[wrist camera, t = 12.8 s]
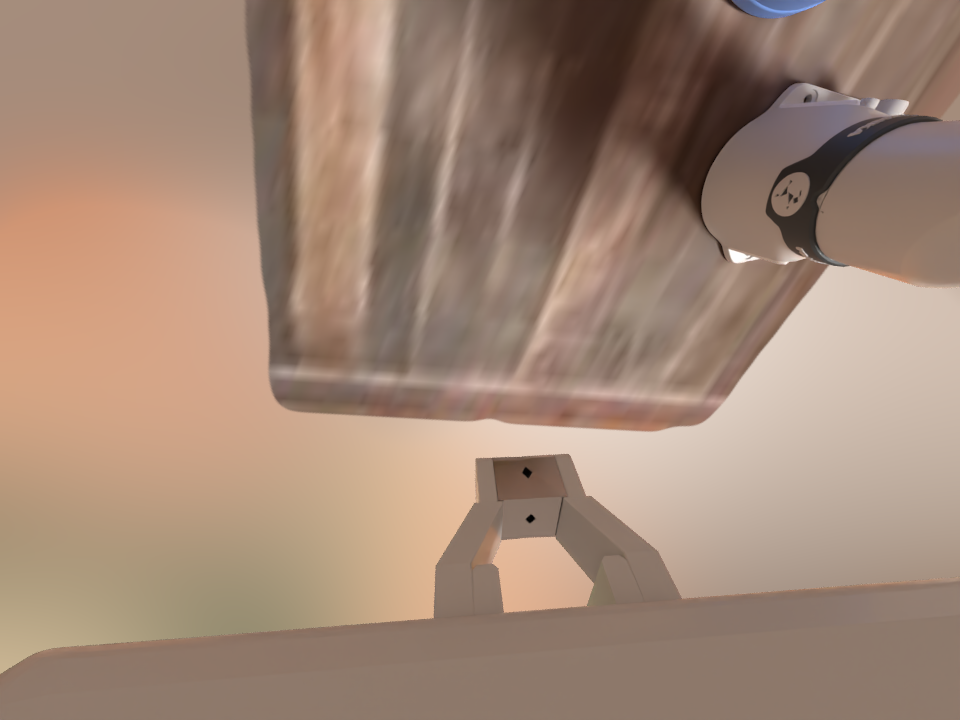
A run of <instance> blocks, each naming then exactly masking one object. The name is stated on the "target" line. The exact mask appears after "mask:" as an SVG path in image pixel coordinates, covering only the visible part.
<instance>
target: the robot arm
mask: <svg viewBox="0 0 960 720" xmlns="http://www.w3.org/2000/svg"><path fill="white" fill-rule="evenodd" d="M805 97H806V101H805V103H804V98H805ZM908 103H909V102H908V101H904V100H896V99H886V100H881V101H880V100H879V99H876V98H863V99H861V100H859V99H856V98H853V97H850V96H846V95H843V94H840V93H837V92H834V91H831V90H827V89H824V88H821V87H818V86H815V85H811V84H808V83H795V84H793V85H791V86H790V87H789V88H787V89H786V90H785V91H784V92H783V93H782V94H781V95H780V97H779V98H778V99H777V100H776V101H775V102H774V104H773V105H772V106H771V107H770V108H769V109H768V110H767V111H766V112H765V113H763V114H762V115H761V116H759V117H758V118H756V119H754V120H753V121H751V122H750V123H748V124H747V125H746V126H744V127H743V128H742V129H741V130H739V131H738V132H737V133H736V134H735V135H734V136H733V137H732V138H731V139H730V140H729V141H728V142H727V144H726V145H725V146H724V147H723V149H722V150H721V151H720V153H719V154H718V156H717V157H716V159H715V161H714V162H713V164H712V166H711V168H710V170H709V173H708V175H707V178H706V181H705V184H704V188H703V192H702V201H701V209H702V216H703V220H704V223H705V225H706V227H707V229H708V230H709V232H710V233H711V234H712V235H713V236H714V237H715V238H716V239H717V240H718V241H719V242H720V243H721V245H722V248H723V252H724V255H725V258H726V259H727V261H729V262H732V263H742V262H747V261H752V260H756V259H763V260H767V261H770V262H774V263H777V264H787V263H788V262H791V261H797V260H801V259H805V258H807V259H809V260H811V261H814V262H818V263H821V264H828V265H833V266H842V267H845V266H853V267H856V268H859V269H862V270H866V271H869V272H872V273H875V274H879V275H882V276H885V277H888V278H892V279H895V280H898V281H902V282H905V283H908V284H911V285H914V286H918V287H925V288H956V287H960V120H959V121H943V120H940V119H938V118H935V117H929V116H919V115H905V114H903V113H904V111H905V110H906V108H907V107H908V105H909V104H908ZM475 477H476V478H475V481H476V482H475V483H476V503H474V505H473V506H472V508H471V510H470V511H469V513H468V514H467V516H466V518H465V519H464V521H463V523H462V524H461V526H460V528H459V529H458V531H457V532H456V534H455V536H454V537H453V539H452V540H451V542H450V544H449V545H448V547H447V549H446V550H445V552H444V553H443V555H442V557H441V558H440V560H439V562H438V563H437V565H436V572H435V573H436V574H435V600H434V618H432V619H420V620H407V621H395V622H382V623H369V624H357V625H344V626H332V627H319V628H306V629H293V630H280V631H268V632H255V633H242V634H229V635H217V636H204V637H191V638H179V639H165V640H152V641H141V642H127V643H114V644H101V645H87V646H74V647H61V648H53V649H48V650H44V651H41V652H38V653H35V654H33V655H31V656H29V657H27V658H26V659H24V660H22V661H21V662H19V663H17V664H16V665H14V666H12V667H11V668H9V669H8V670H6V671H4V672H3V673H1V674H0V720H960V577H951V578H938V579H926V580H914V581H900V582H888V583H875V584H862V585H850V586H837V587H824V588H813V589H799V590H787V591H774V592H761V593H750V594H736V595H724V596H711V597H699V598H687V599H682V598H681V596H680V594H679V592H678V590H677V588H676V586H675V584H674V582H673V580H672V578H671V576H670V574H669V572H668V570H667V568H666V566H665V564H664V562H663V561H662V558H661V556H660V555H659V553H658V551H657V550H655V548H653V547H652V546H651V545H650V544H648V543H647V542H646V541H645V540H644V539H642V538H641V537H640V536H639V535H638V534H636V533H635V532H634V531H633V530H631V529H630V528H629V527H628V526H627V525H625V524H624V523H623V522H622V521H621V520H619V519H618V518H617V517H616V516H615V515H613V514H612V513H611V512H610V511H608V510H607V509H606V508H605V507H604V506H602V505H601V504H600V503H599V502H598V501H596V500H595V499H594V498H593V497H591V496H586V495H585V492H584V489H583V487H582V484H581V482H580V479H579V477H578V474H577V471H576V469H575V466H574V464H573V461H572V459H571V456H570V455H569V454H559V455H540V456H524V457H501V458H477V459H476V475H475ZM528 537H556V539H557V540H558V541H559V543H560V544H561V545H562V546H563V547H564V549H565V550H566V551H567V552H568V553H569V554H570V556H571V557H572V558H573V559H574V560H575V562H576V563H577V564H578V565H579V566H580V567H581V569H582V570H583V571H584V572H585V573H586V575H587V576H588V577H589V578H590V579H591V580H592V582H593V583H594V586H593V589H592V592H591V595H590V598H589V601H588V604H587V606H584V607H571V608H559V609H547V610H534V611H521V612H509V613H504V611H503V603H502V595H501V588H500V579H499V571H498V568H497V567H496V566H495V565H493V564H492V562H493V559H494V557H495V555H496V552H497V550H498V548H499V546H500V543H501V540H507V539H518V538H528Z"/></svg>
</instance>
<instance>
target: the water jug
mask: <svg viewBox="0 0 960 720" xmlns="http://www.w3.org/2000/svg"><path fill="white" fill-rule="evenodd" d="M732 1H733V2H734V3H735V4H736V5H737V6H738V7H739V8H740V9H742V10H743V11H745V12H746V13H748V14H751V15H753V16H756V17H761V18H781V17H786V16H790V15H793V14H796V13H798V12H801V11H804V10H807V9H809V8H812V7H814V6H816V5H818V4H820V3H822V2H823V1H825V0H732Z"/></svg>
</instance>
